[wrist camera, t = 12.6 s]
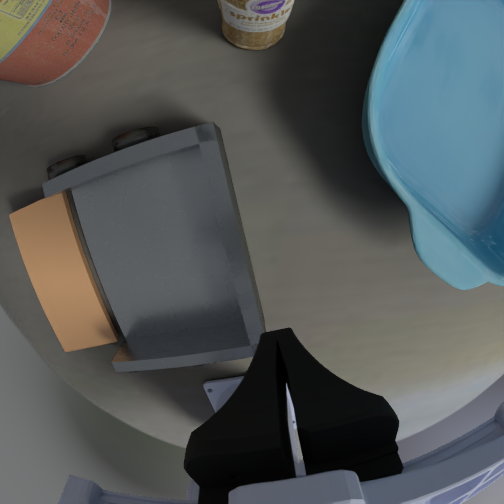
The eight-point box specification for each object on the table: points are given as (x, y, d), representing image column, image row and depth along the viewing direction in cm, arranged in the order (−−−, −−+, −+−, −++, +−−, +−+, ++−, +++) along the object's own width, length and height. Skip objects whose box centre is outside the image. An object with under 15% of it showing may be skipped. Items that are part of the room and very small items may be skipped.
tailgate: (117, 341, 23) (65, 352, 22) (119, 336, 24) (68, 347, 23) (61, 190, 19) (9, 214, 18) (65, 190, 20) (13, 213, 19)
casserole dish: (463, 297, 24) (504, 331, 17) (283, 175, 20) (302, 185, 13) (546, 56, 14) (581, 53, 7) (427, -68, 10) (454, -92, 4)
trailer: (267, 331, 24) (271, 365, 20) (128, 351, 24) (112, 382, 20) (216, 113, 18) (208, 102, 14) (61, 168, 19) (28, 173, 15)
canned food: (8, 33, 14) (-69, 11, 2) (97, -37, 13) (37, -97, 1) (25, 111, 17) (-78, 109, 6) (127, 33, 16) (43, -37, 5)
